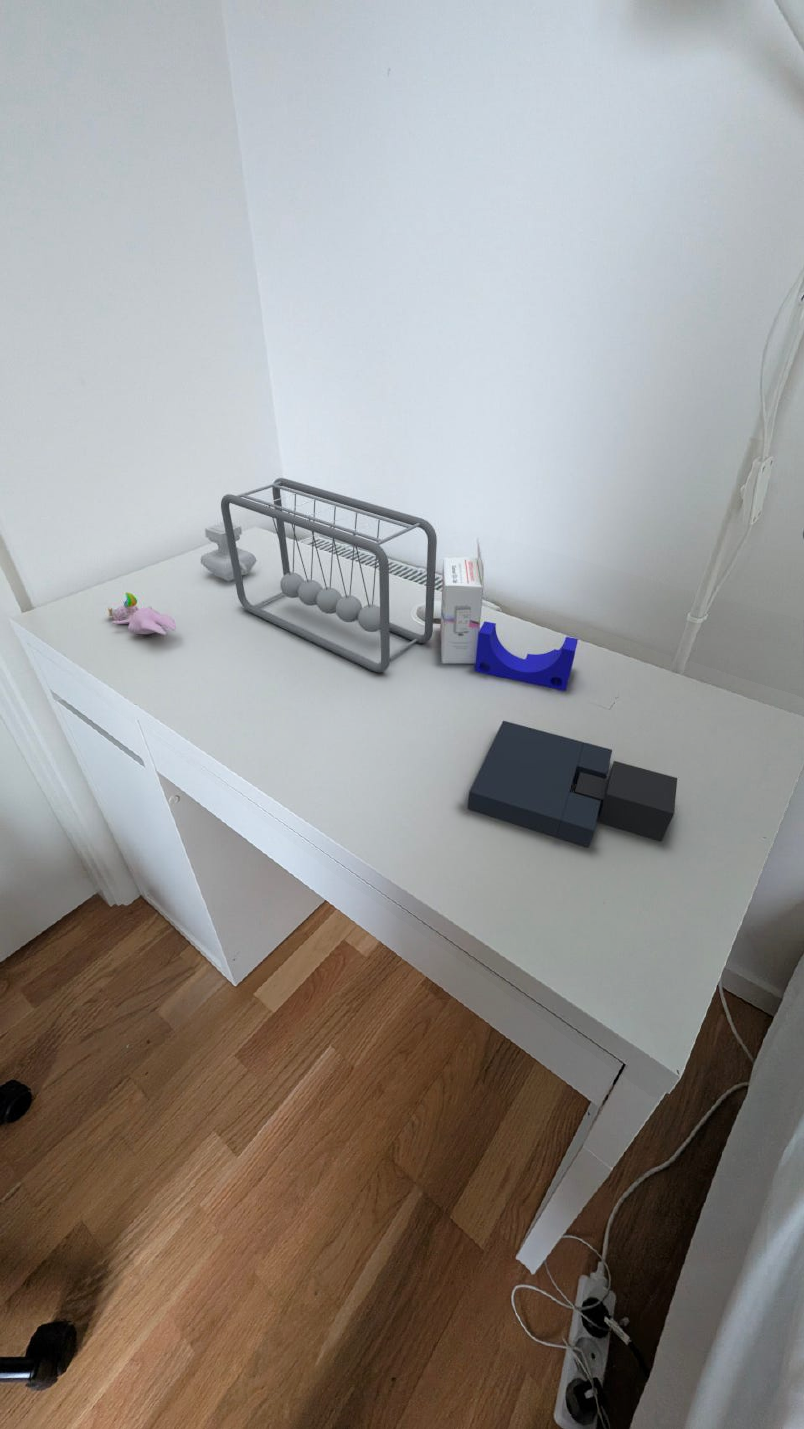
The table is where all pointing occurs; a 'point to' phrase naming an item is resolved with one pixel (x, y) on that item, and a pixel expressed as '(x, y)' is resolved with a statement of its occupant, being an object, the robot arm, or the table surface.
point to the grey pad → (539, 782)
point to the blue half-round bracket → (524, 661)
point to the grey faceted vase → (225, 553)
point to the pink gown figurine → (141, 618)
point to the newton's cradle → (329, 597)
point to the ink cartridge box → (461, 608)
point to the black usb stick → (632, 799)
